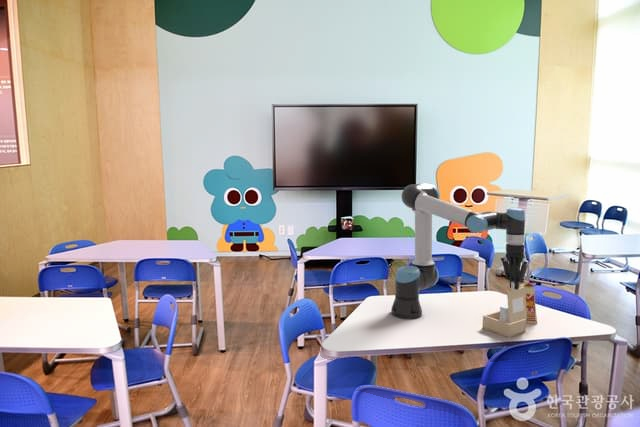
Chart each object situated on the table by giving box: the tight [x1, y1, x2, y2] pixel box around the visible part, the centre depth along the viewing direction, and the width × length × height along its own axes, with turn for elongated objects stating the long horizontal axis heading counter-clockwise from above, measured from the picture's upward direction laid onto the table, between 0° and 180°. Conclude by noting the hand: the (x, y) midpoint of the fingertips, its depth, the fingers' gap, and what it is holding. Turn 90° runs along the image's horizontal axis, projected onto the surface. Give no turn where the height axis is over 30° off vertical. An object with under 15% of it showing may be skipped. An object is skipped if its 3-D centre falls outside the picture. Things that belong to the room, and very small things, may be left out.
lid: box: [506, 287, 527, 323], centre depth 215 cm, size 14×12×1 cm
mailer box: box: [481, 304, 527, 339], centre depth 221 cm, size 14×12×12 cm
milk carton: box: [519, 280, 538, 324], centre depth 235 cm, size 9×9×20 cm
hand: (514, 296), depth 216 cm, fingers closed
